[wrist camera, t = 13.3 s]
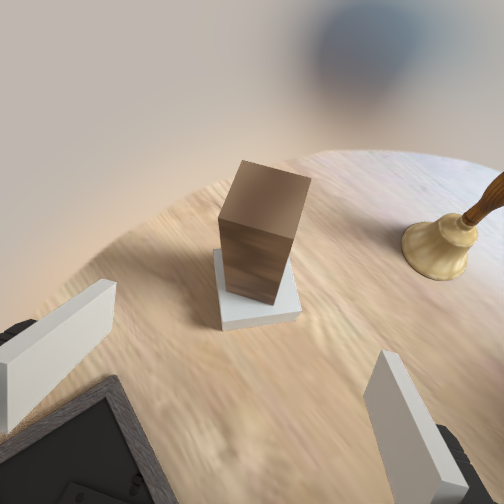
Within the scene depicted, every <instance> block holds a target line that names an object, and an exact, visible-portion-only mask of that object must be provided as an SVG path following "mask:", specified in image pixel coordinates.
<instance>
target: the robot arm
mask: <svg viewBox="0 0 504 504" xmlns="http://www.w3.org/2000/svg"><path fill="white" fill-rule="evenodd" d="M116 284H117V282H114V281H110V280H106V279H100V280H99V281H97V282H96V283H94V284H93V285H91V286H90V287H88V288H87V289H85V290H84V291H82V292H81V293H79V294H78V295H76V296H75V297H73V298H72V299H70V300H69V301H67V302H66V303H64V304H63V305H61V306H60V307H58V308H57V309H55V310H54V311H52V312H51V313H49V314H48V315H46V316H45V317H43V318H42V319H40V320H39V321H36V320H32V319H29V320H26V321H23V322H20V323H17V324H15V325H13V326H12V327H10V328H9V329H7V330H6V331H4V333H1V334H0V433H4V434H9V433H10V432H11V431H12V430H13V429H14V428H15V427H16V426H17V425H18V424H19V423H20V422H21V421H22V420H23V419H24V418H25V417H26V416H27V415H28V414H29V413H30V412H31V411H32V410H33V409H34V408H35V407H36V406H37V405H38V404H39V403H40V402H41V401H42V400H43V399H44V398H45V397H46V396H47V395H48V394H49V393H50V392H51V391H52V390H53V389H54V388H55V387H56V386H57V385H58V384H59V383H60V382H61V381H62V380H63V379H64V378H65V377H66V376H67V375H68V374H69V373H70V372H71V371H72V370H73V369H74V368H75V367H76V366H77V365H78V364H79V363H80V362H81V361H82V360H83V359H84V358H85V357H86V356H87V355H88V354H89V353H90V352H91V351H92V350H93V349H94V348H95V347H96V346H97V345H98V344H99V343H100V342H101V341H102V340H103V339H104V338H105V337H106V336H107V335H108V334H109V333H110V332H111V331H112V322H113V312H114V303H115V293H116ZM363 397H364V400H365V404H366V407H367V410H368V414H369V417H370V420H371V424H372V427H373V431H374V434H375V437H376V441H377V444H378V447H379V451H380V454H381V457H382V461H383V464H384V467H385V471H386V474H387V477H388V481H389V484H390V487H391V491H392V494H393V497H394V501H395V504H498V503H496V502H493V500H492V499H491V497H490V495H489V493H488V492H487V490H486V488H485V486H484V485H483V483H482V481H481V480H480V478H479V476H478V474H477V473H476V471H475V469H474V468H473V466H472V465H471V464H470V461H469V459H468V457H467V455H466V454H464V450H463V449H462V447H461V445H460V443H459V442H458V440H457V438H456V437H455V436H454V435H453V434H452V433H451V432H450V431H449V430H448V429H447V428H446V427H445V426H442V425H438V424H435V423H434V421H433V419H432V417H431V415H430V413H429V411H428V410H427V408H426V406H425V404H424V402H423V400H422V398H421V396H420V395H419V393H418V391H417V389H416V387H415V385H414V383H413V381H412V380H411V378H410V376H409V374H408V372H407V370H406V368H405V366H404V364H403V363H402V361H401V359H400V357H399V355H398V353H394V352H390V351H386V350H381V352H380V355H379V357H378V360H377V362H376V365H375V368H374V370H373V373H372V375H371V378H370V380H369V383H368V385H367V388H366V390H365V393H364V395H363Z"/></svg>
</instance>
